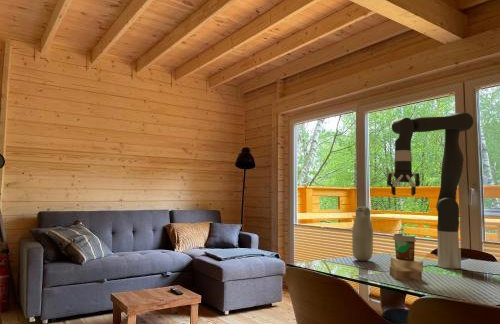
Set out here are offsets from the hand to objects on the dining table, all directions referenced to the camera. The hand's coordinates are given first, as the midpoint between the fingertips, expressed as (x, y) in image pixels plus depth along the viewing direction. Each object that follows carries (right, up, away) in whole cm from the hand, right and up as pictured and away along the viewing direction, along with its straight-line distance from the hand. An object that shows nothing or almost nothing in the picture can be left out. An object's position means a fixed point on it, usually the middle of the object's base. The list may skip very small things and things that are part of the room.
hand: (403, 195), depth 186 cm
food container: (-8, -25, -20) cm, 33 cm away
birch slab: (-6, -29, -20) cm, 36 cm away
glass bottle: (-13, -36, +20) cm, 43 cm away
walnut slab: (-7, -33, -20) cm, 39 cm away
